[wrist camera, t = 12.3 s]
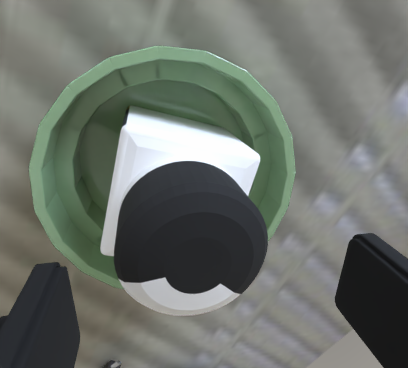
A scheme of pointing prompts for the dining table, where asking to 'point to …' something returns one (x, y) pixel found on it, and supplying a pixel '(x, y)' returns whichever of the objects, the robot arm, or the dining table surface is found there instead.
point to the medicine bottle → (182, 214)
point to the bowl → (110, 133)
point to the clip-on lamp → (113, 364)
